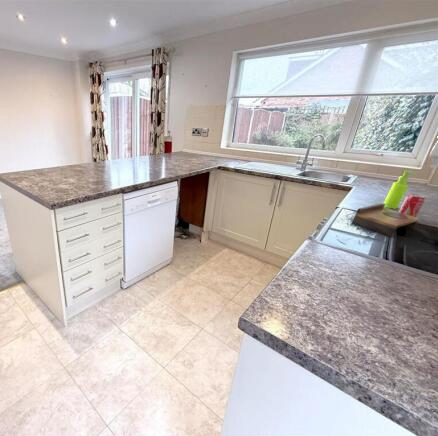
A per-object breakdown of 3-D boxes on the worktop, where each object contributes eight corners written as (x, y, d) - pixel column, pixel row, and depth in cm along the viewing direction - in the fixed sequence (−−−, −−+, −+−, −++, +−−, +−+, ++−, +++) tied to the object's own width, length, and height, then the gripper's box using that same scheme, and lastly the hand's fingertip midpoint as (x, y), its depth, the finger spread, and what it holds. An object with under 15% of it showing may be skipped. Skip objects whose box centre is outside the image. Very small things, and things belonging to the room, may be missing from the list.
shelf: (413, 228, 108) (421, 214, 106) (390, 236, 99) (398, 221, 96) (376, 216, 120) (382, 203, 117) (351, 222, 110) (358, 208, 108)
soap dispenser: (397, 210, 130) (416, 173, 122) (381, 206, 135) (398, 170, 127) (400, 208, 133) (419, 172, 125) (384, 204, 138) (401, 169, 130)
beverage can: (394, 215, 123) (406, 192, 118) (410, 218, 120) (423, 195, 115) (398, 219, 118) (410, 195, 113) (415, 222, 115) (428, 198, 110)
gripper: (456, 135, 99) (438, 169, 104) (471, 136, 108) (454, 167, 113) (434, 134, 104) (418, 166, 109) (451, 134, 113) (435, 164, 118)
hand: (436, 167), depth 111 cm, fingers open, 8 cm apart
